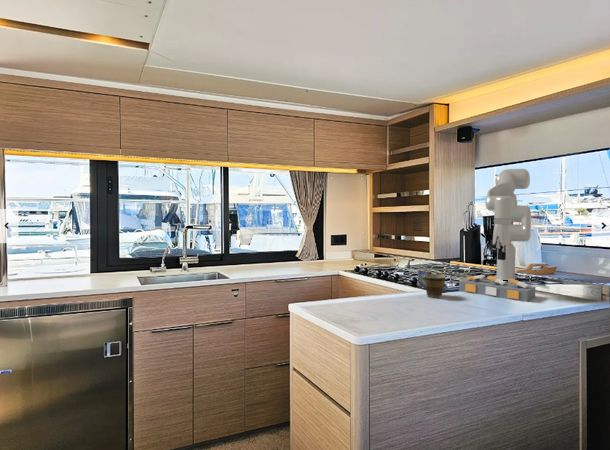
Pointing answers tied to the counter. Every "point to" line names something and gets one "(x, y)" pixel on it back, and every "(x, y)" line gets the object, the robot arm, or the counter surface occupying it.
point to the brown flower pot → (433, 285)
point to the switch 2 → (496, 280)
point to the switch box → (497, 289)
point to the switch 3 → (518, 283)
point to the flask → (421, 274)
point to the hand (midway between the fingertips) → (501, 259)
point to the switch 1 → (475, 277)
